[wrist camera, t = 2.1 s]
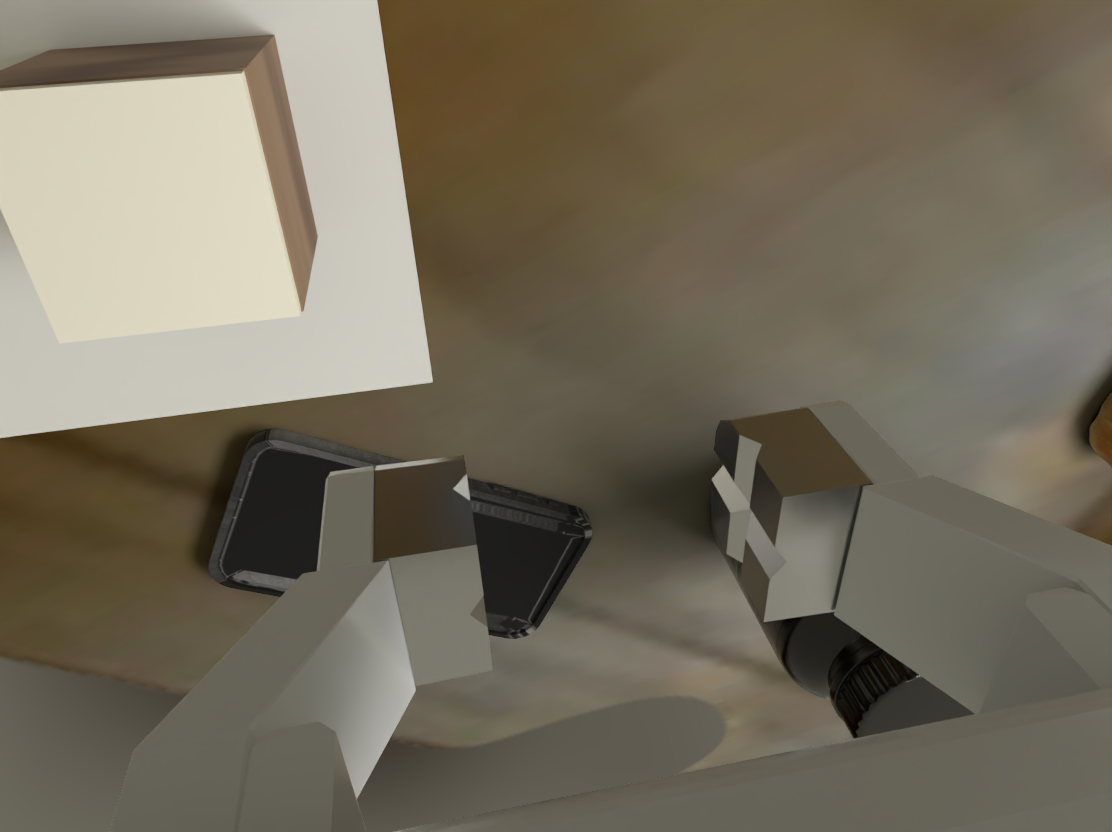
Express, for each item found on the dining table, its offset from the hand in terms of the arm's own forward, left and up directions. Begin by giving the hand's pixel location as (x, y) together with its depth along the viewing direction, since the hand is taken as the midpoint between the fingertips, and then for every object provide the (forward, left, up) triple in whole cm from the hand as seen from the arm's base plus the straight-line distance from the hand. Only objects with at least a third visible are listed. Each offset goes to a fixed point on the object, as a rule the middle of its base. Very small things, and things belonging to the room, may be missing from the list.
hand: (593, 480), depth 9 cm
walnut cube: (+8, 0, -18) cm, 20 cm away
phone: (+4, +17, -20) cm, 26 cm away
